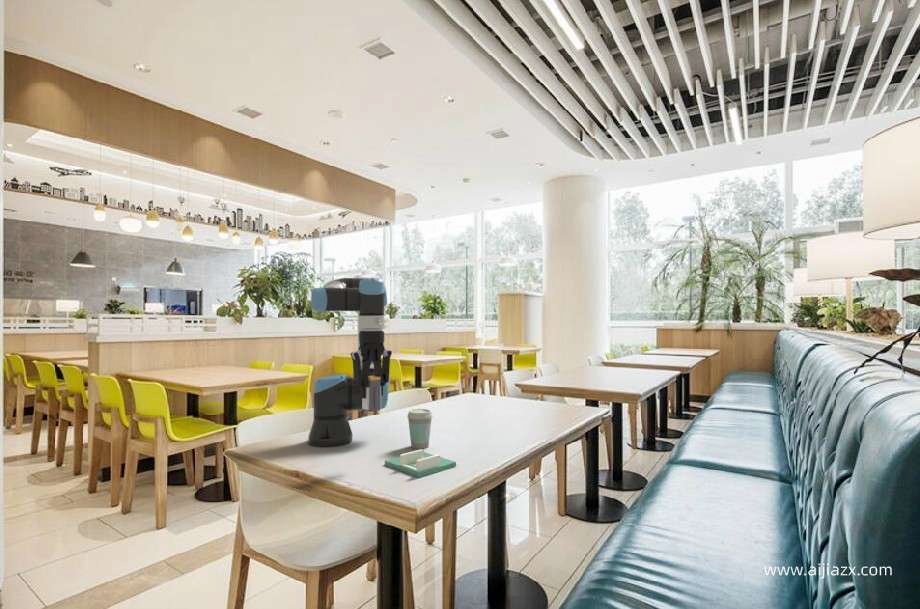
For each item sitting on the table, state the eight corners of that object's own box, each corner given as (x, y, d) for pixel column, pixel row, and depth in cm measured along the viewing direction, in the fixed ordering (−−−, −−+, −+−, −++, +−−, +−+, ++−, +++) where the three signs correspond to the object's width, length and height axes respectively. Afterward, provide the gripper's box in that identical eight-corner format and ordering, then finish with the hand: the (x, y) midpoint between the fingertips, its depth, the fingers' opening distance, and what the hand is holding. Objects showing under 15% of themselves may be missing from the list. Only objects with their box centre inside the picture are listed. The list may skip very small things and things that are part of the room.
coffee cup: (428, 450, 153) (428, 413, 153) (403, 449, 155) (403, 413, 155) (435, 443, 161) (435, 409, 162) (411, 442, 163) (411, 408, 163)
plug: (363, 410, 140) (363, 376, 141) (373, 408, 143) (373, 375, 143) (371, 412, 137) (371, 378, 137) (381, 410, 140) (381, 376, 140)
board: (384, 464, 138) (384, 450, 138) (421, 455, 148) (421, 441, 148) (418, 477, 127) (418, 462, 127) (456, 466, 137) (456, 451, 137)
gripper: (354, 330, 133) (354, 413, 132) (401, 329, 144) (401, 406, 143) (340, 330, 138) (340, 410, 137) (387, 329, 149) (387, 403, 149)
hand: (371, 407), depth 140 cm, fingers closed on plug, 3 cm apart
